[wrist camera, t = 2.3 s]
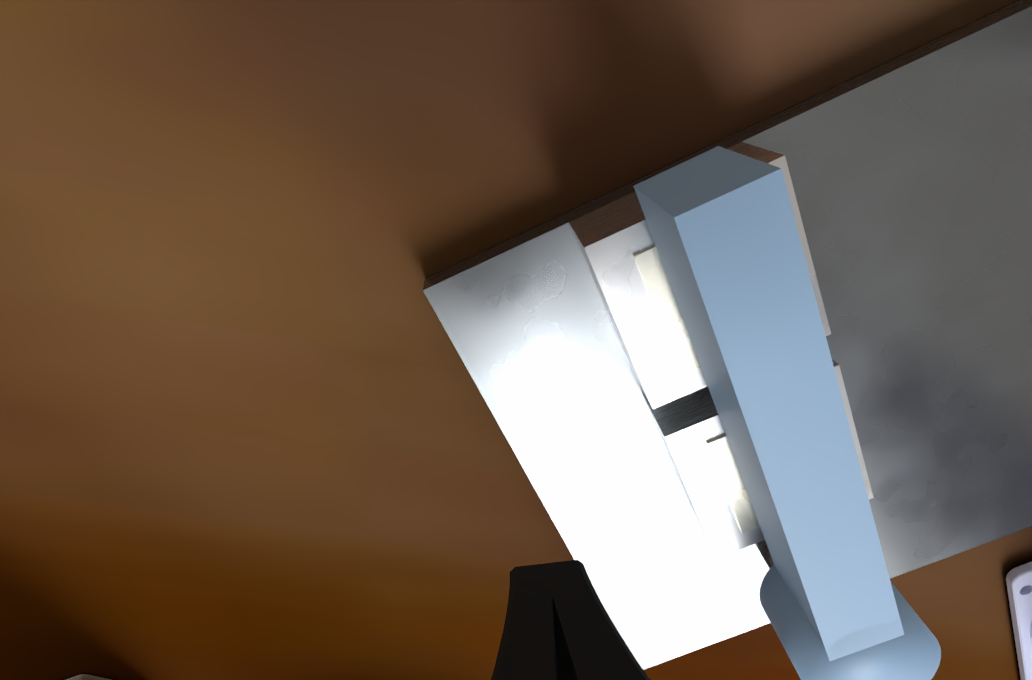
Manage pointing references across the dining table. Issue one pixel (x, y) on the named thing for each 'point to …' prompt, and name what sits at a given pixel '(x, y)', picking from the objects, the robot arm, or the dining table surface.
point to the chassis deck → (853, 341)
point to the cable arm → (783, 416)
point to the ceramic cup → (87, 677)
